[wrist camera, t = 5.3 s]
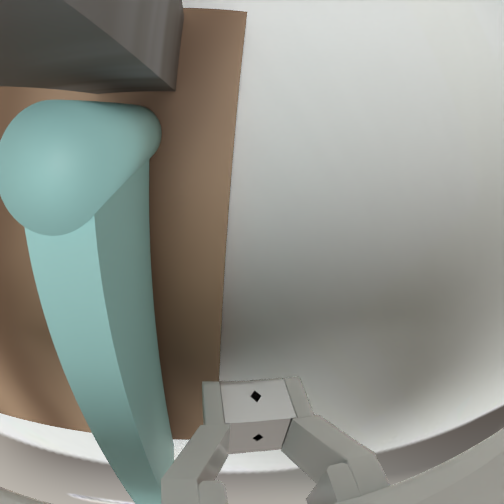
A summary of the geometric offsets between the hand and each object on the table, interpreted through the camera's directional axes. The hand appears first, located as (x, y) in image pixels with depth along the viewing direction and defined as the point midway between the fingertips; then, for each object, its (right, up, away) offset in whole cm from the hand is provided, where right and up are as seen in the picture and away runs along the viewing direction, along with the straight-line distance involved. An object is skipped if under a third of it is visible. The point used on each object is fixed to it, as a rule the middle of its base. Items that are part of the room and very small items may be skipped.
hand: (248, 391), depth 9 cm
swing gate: (-4, +1, +2) cm, 5 cm away
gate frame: (-10, +3, +1) cm, 10 cm away
